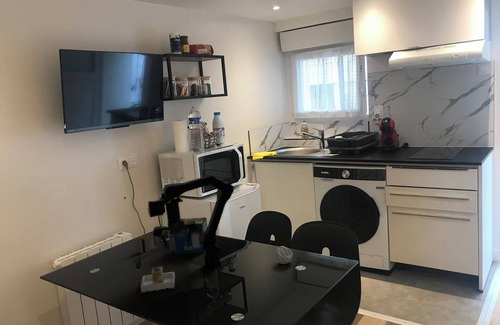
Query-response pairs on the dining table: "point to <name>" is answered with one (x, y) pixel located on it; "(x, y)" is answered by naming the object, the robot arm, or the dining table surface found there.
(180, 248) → the protein box
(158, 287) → the housing tray
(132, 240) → the dining table surface
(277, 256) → the grey streaked ball
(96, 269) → the dining table surface
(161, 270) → the brown block
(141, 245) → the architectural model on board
